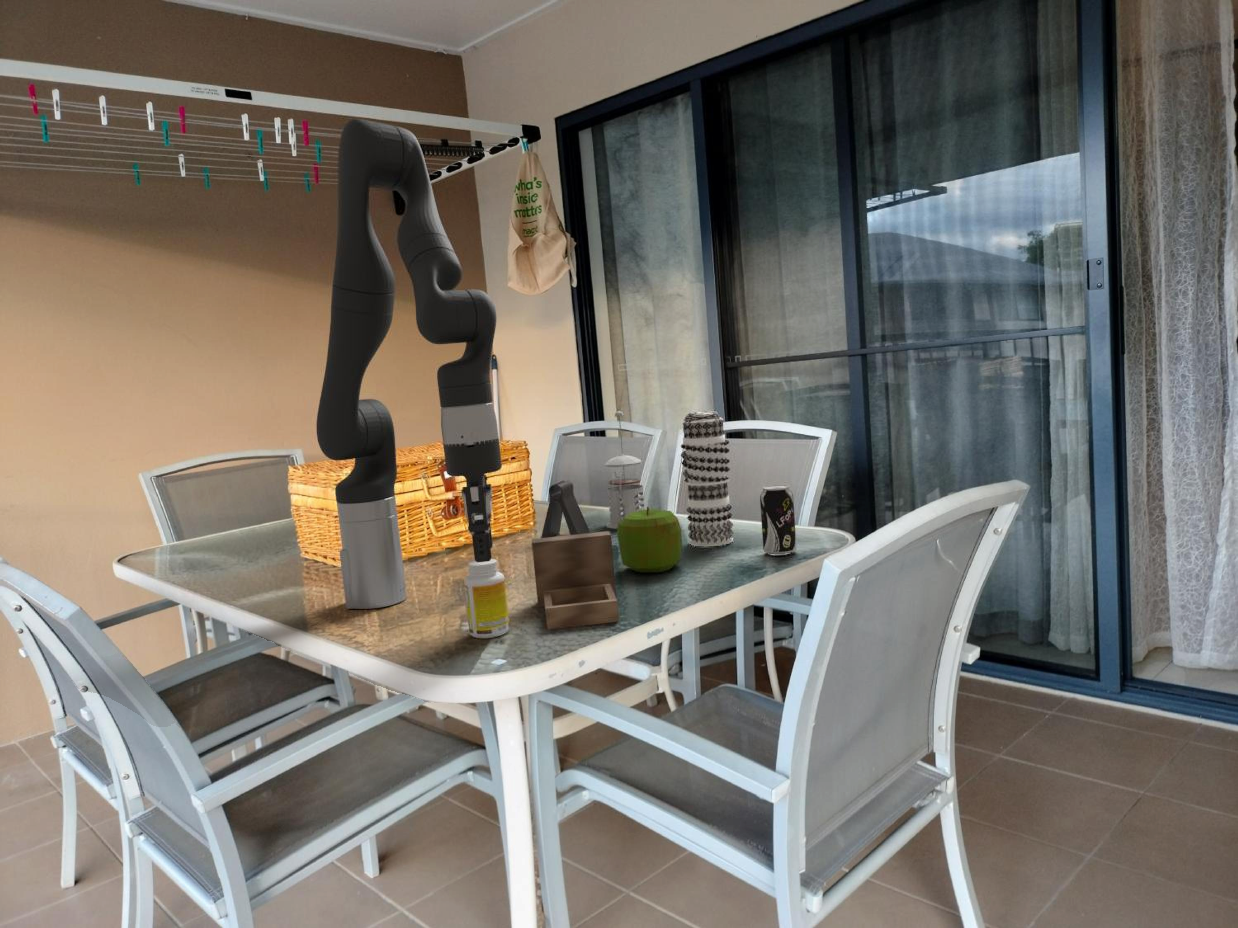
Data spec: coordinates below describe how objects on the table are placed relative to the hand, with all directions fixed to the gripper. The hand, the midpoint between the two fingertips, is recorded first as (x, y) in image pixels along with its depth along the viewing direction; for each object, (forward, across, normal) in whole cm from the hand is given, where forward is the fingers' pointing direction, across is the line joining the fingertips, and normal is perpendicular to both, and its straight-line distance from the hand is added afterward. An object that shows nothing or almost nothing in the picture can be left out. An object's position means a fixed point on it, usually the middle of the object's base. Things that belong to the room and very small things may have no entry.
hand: (484, 554), depth 124 cm
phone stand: (+11, -61, +14) cm, 64 cm away
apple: (+12, -27, +27) cm, 40 cm away
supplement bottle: (+11, 0, 0) cm, 11 cm away
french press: (+11, -70, +28) cm, 76 cm away
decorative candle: (+11, -43, +41) cm, 60 cm away
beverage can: (+12, -28, +50) cm, 58 cm away
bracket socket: (+11, -6, +13) cm, 18 cm away
